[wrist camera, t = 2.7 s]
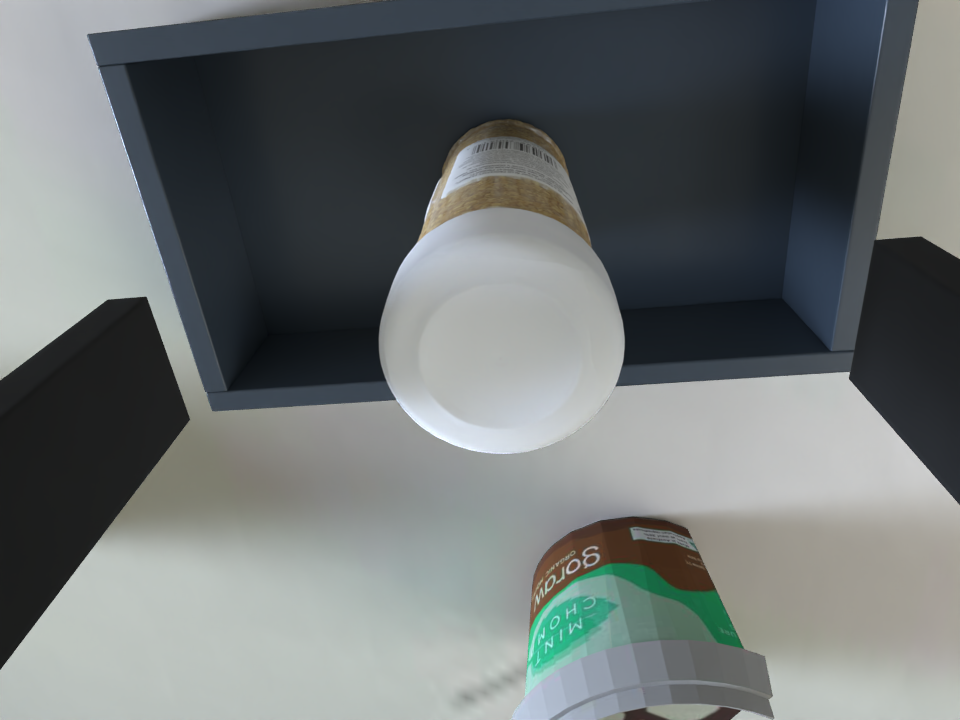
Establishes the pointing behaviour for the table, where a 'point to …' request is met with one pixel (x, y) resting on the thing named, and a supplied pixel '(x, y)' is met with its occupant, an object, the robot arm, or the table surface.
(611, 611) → the food container
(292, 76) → the dark grey open tray
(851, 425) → the table surface
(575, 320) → the sprinkles bottle
